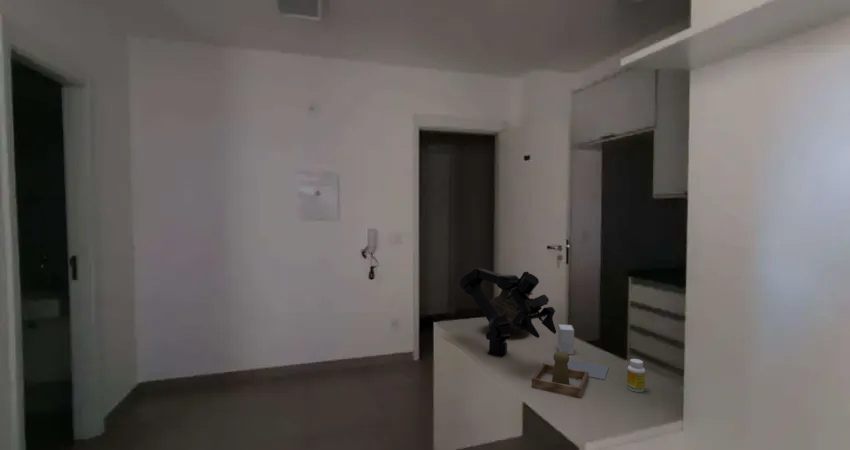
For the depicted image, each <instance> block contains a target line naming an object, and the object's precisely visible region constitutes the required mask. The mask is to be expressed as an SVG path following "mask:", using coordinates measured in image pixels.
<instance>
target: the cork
mask: <svg viewBox="0 0 850 450" xmlns="http://www.w3.org/2000/svg"><path fill="white" fill-rule="evenodd" d="M569 355H570V354H567V353H565V352H559V351H555V352H554V354H553V360H554V371H553V374H552V378H551V382H556V383H561V384H566V385H570V378H569V374H568V364H569V362H570V356H569ZM570 386H571V385H570Z"/></svg>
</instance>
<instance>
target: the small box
mask: <svg viewBox="0 0 850 450" xmlns="http://www.w3.org/2000/svg"><path fill="white" fill-rule="evenodd" d="M557 330H558V331H557V333H558V334H557V336H558V337H557V349H558V352H565V353H567V354H568V355H575V354H574V353H575V329H574V327H573V325H572V324H558V327H557Z"/></svg>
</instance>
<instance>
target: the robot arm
mask: <svg viewBox="0 0 850 450" xmlns="http://www.w3.org/2000/svg"><path fill="white" fill-rule="evenodd" d="M483 281H486V282H490V283H492V284H495V285H496V286H497V288H499V289H500V290H501V291H502V290H504V291H507V290H512V291H511V293H508V297H507V300H513V301H514V302H515V304H516V305H517V307H518V308H517V310H518V311H521V312H519V313H517V314H516V316H515V317H514V318H513V320H512V324H513V325H514V327H518V328H520V329H522V330H524V331H523V332H526V333H528V334H530V335H531V336H533V337H535V338H537V339H539V338H540V337H541V335H540V334H539V332H538V331H537V329H536V327H535V326H534V324H533V322H532V321H533V320H535V319H538V320H539V321H541V324H542V325H543V326H544V327H545V328H547V330H548V331H550V332H551V333H552V334H554V335H555V334H557V329H556V327H555V323H554V320H553V319H554V315H555V313H556V309H555V308H554V307H553V306H547V305H548V304H549V300H550V298H549V297H548V296H547V295H546V294H541V295H539V296H536V297H535V298H530V296H529V297H528V295H527V294H530V293H531V292H532V293H533V291H534V289H535V288H536V287H537V286H538V284H539V283H540V280H539V278H538V277H537V276H536V275H534V274H532V273H529V271H523V273H522V275H521V276H520V277H519V276H517V275H516V274H501V273H498V272H494V271H493V270H492V271H491V270H489V269H485V268H484V267H478V268H474V269H472V271H470V272H468V273H467V274H465V275H464V276H462V277H461V279H460V281H459V286H460V288H461V289H462V290H463V292H464V293H466V294H467V295H469V296H471V297H472V298H473V300H474V301H475V303H476V304H477V306H478V307H479V309H480V311H481V312H482V314H483V315H484V318H486V320H487V322H488V329H489V330H488V331H487V332H486V333H485V337H486V340H488V342H489V343H488V348H489V350H488V352H487V355H490V356H495V357H500V358H503V357H504V356H505V355H507V354H508V343H507V340H509V339H510V337H511V335H512V333H511V331H512V327H511V325H510V322H509V321H508V320H507V318H506V316H499V315H498V314H497V312H496V311H495V309H494V308H493V306H492V305H491V304H490V302H489V301H490V300H489V299H488V297H487V296H486V295H485V293H484V292H483V290H482V282H483ZM545 306H546V307H545ZM542 307H543V308H542Z"/></svg>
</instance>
